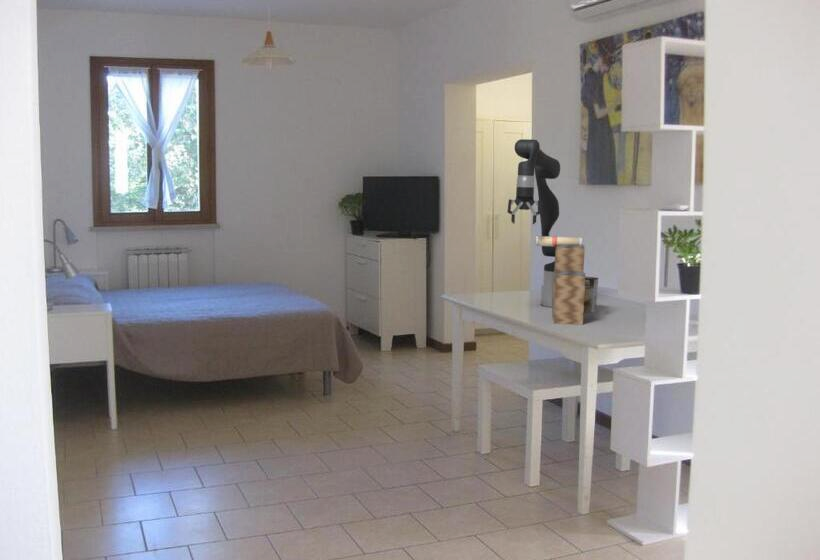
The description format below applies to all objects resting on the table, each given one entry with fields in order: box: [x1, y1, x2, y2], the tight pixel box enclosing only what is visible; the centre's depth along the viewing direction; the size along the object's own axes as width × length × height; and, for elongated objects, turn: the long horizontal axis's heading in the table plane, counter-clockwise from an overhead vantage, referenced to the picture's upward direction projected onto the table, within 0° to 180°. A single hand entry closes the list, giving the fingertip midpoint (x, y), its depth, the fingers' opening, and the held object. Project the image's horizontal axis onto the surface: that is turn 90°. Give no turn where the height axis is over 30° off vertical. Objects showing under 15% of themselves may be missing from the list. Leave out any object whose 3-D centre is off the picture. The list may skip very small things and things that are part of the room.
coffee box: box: [583, 275, 599, 313], centre depth 419 cm, size 9×6×16 cm
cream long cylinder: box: [535, 235, 583, 247], centre depth 392 cm, size 20×4×4 cm, turn 84°
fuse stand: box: [551, 243, 586, 326], centre depth 389 cm, size 12×20×33 cm, turn 174°
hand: (523, 223), depth 383 cm, fingers open, 8 cm apart
